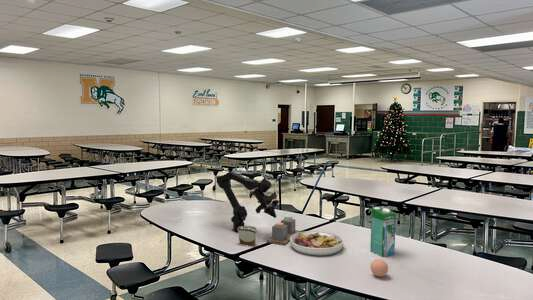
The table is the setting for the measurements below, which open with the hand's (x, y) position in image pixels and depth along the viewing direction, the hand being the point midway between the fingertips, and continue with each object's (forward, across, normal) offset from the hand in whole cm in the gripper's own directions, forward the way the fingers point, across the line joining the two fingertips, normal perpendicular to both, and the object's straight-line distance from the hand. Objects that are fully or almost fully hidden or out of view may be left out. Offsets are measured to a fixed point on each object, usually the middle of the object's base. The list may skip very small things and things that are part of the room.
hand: (275, 217), depth 222 cm
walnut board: (+11, +6, +8) cm, 15 cm away
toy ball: (+58, -14, -39) cm, 71 cm away
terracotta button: (+6, -1, +1) cm, 7 cm away
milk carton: (+52, +16, -33) cm, 63 cm away
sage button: (+4, +12, +2) cm, 13 cm away
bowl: (+29, +3, -9) cm, 30 cm away
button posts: (+10, +6, +7) cm, 14 cm away
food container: (+4, -16, +15) cm, 23 cm away
